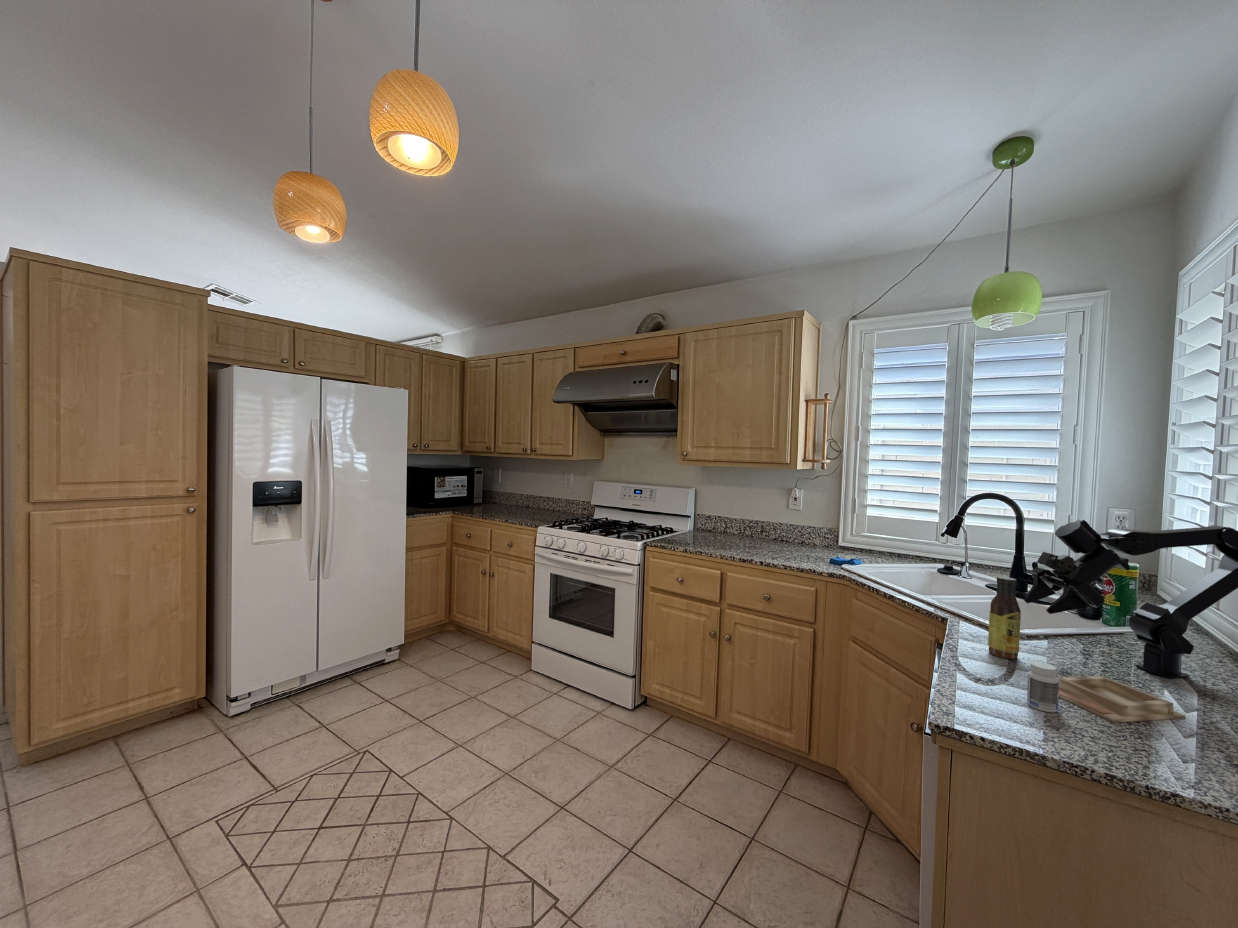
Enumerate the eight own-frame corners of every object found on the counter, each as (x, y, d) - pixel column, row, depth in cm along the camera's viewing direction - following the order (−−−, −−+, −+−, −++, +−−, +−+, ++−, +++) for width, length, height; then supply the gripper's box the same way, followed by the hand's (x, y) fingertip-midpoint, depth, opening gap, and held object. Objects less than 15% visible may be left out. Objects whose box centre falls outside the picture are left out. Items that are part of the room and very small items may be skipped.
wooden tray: (1103, 684, 108) (1103, 673, 108) (1185, 717, 94) (1186, 705, 94) (1038, 687, 105) (1038, 676, 105) (1113, 722, 91) (1113, 709, 91)
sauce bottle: (1011, 661, 119) (1014, 582, 119) (982, 652, 125) (985, 576, 125) (1024, 657, 122) (1027, 579, 122) (995, 648, 128) (998, 574, 128)
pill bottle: (1064, 714, 94) (1065, 671, 94) (1036, 711, 95) (1037, 668, 95) (1047, 702, 99) (1049, 661, 98) (1021, 699, 99) (1022, 659, 99)
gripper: (1040, 537, 130) (992, 574, 132) (1090, 548, 111) (1033, 591, 114) (1074, 568, 128) (1024, 605, 130) (1130, 585, 110) (1071, 628, 112)
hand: (1036, 606), depth 122 cm, fingers open, 9 cm apart
